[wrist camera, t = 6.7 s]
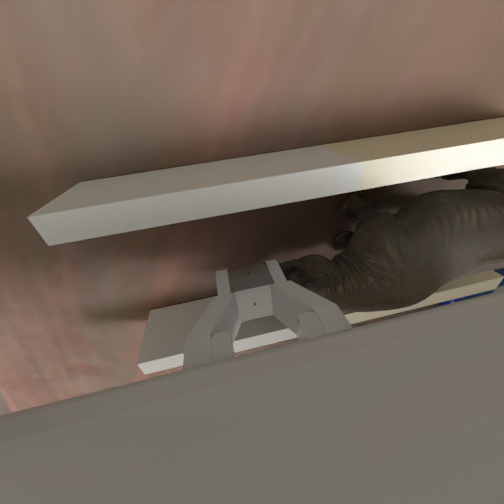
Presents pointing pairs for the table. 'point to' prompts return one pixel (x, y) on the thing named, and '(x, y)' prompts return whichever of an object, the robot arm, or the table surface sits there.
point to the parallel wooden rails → (265, 195)
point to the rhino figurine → (410, 246)
